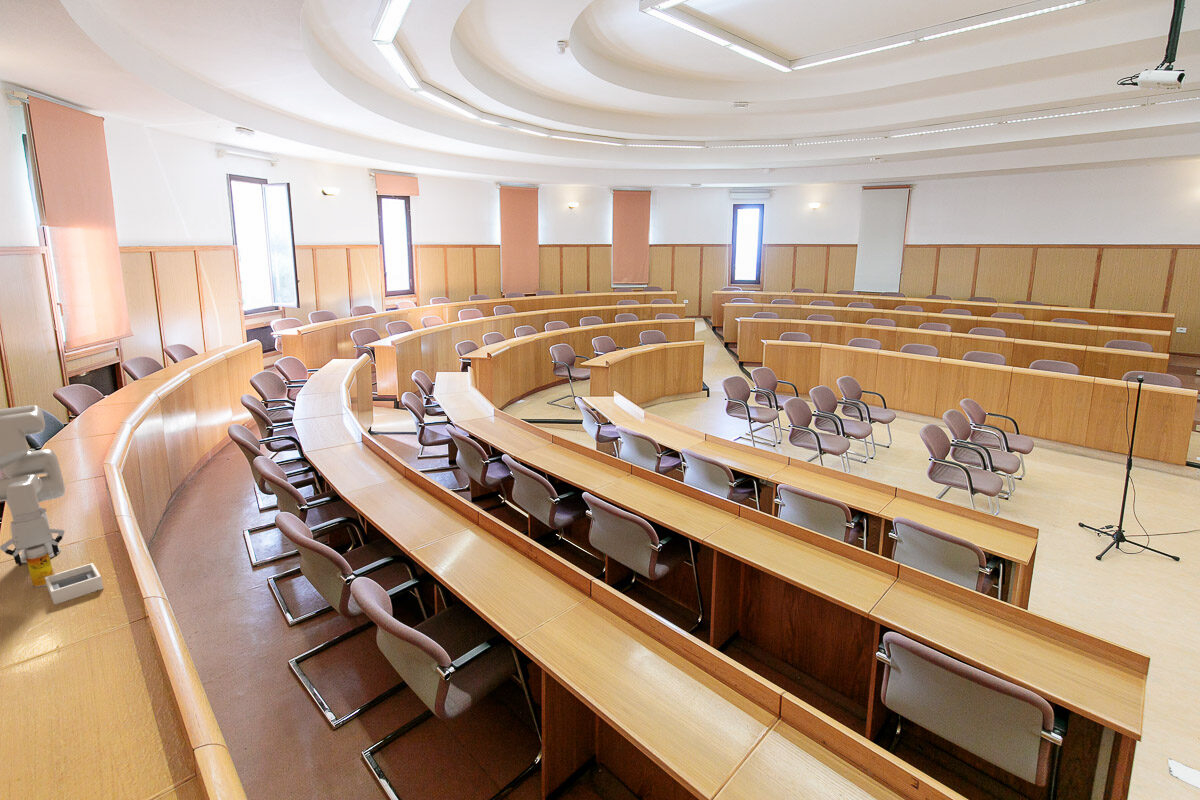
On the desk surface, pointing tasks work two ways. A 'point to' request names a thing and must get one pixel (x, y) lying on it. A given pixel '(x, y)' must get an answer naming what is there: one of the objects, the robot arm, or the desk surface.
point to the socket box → (74, 583)
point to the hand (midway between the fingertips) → (38, 559)
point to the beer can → (38, 564)
